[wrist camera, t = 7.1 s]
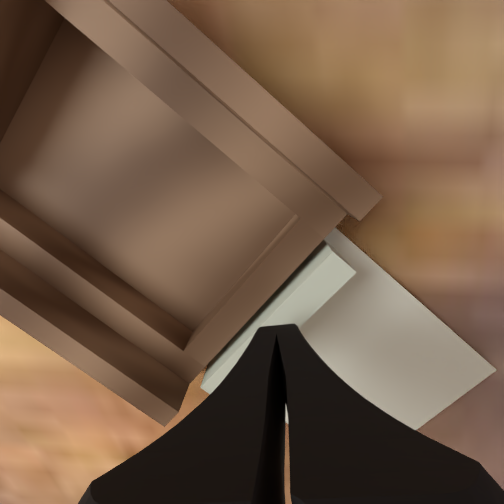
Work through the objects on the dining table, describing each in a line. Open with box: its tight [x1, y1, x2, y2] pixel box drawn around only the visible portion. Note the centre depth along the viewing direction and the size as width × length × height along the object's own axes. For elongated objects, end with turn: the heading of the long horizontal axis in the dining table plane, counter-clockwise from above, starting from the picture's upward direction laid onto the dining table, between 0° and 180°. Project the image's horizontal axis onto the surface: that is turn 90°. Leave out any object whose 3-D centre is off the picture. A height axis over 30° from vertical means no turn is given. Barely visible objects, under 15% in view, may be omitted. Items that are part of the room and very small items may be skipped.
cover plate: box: [201, 228, 496, 430], centre depth 14 cm, size 11×9×3 cm
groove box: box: [0, 0, 383, 427], centre depth 11 cm, size 14×12×4 cm
